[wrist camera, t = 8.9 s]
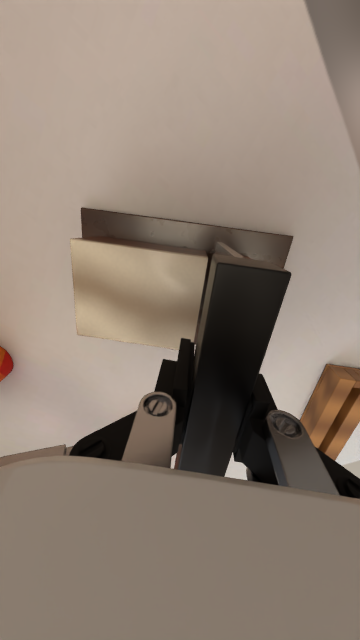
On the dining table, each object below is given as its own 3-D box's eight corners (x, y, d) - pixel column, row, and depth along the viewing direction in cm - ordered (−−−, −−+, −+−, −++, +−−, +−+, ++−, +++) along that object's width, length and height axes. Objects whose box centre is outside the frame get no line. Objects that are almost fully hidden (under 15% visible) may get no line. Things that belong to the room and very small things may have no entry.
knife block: (326, 363, 28) (340, 378, 26) (365, 369, 28) (383, 384, 26) (289, 442, 34) (297, 460, 32) (321, 447, 34) (331, 466, 32)
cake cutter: (205, 239, 15) (216, 262, 6) (233, 243, 15) (292, 272, 6) (183, 376, 20) (169, 513, 11) (204, 380, 20) (210, 520, 10)
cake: (84, 208, 23) (41, 201, 17) (290, 235, 23) (325, 239, 16) (90, 325, 29) (59, 353, 23) (255, 349, 28) (271, 385, 22)
